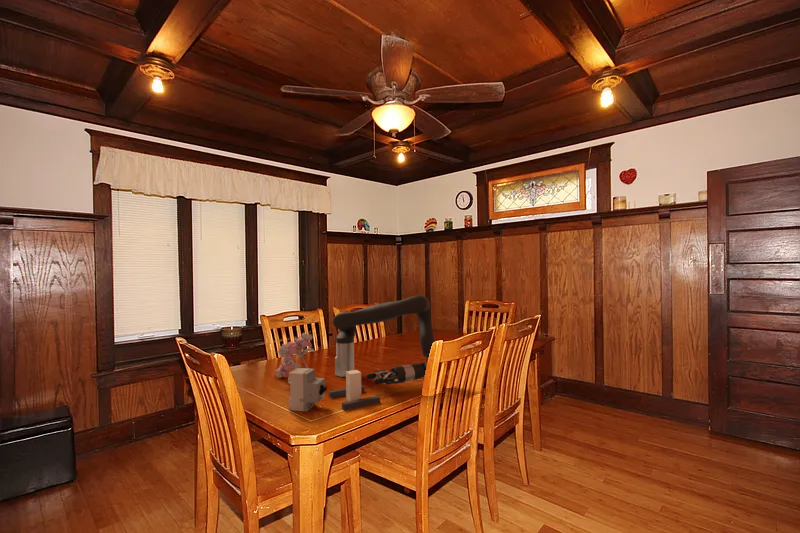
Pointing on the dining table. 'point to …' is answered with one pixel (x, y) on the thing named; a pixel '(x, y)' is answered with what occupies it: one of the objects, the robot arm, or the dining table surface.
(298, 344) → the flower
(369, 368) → the dining table surface
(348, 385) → the plug block
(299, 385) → the circuit breaker
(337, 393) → the dark gray parallel rails
